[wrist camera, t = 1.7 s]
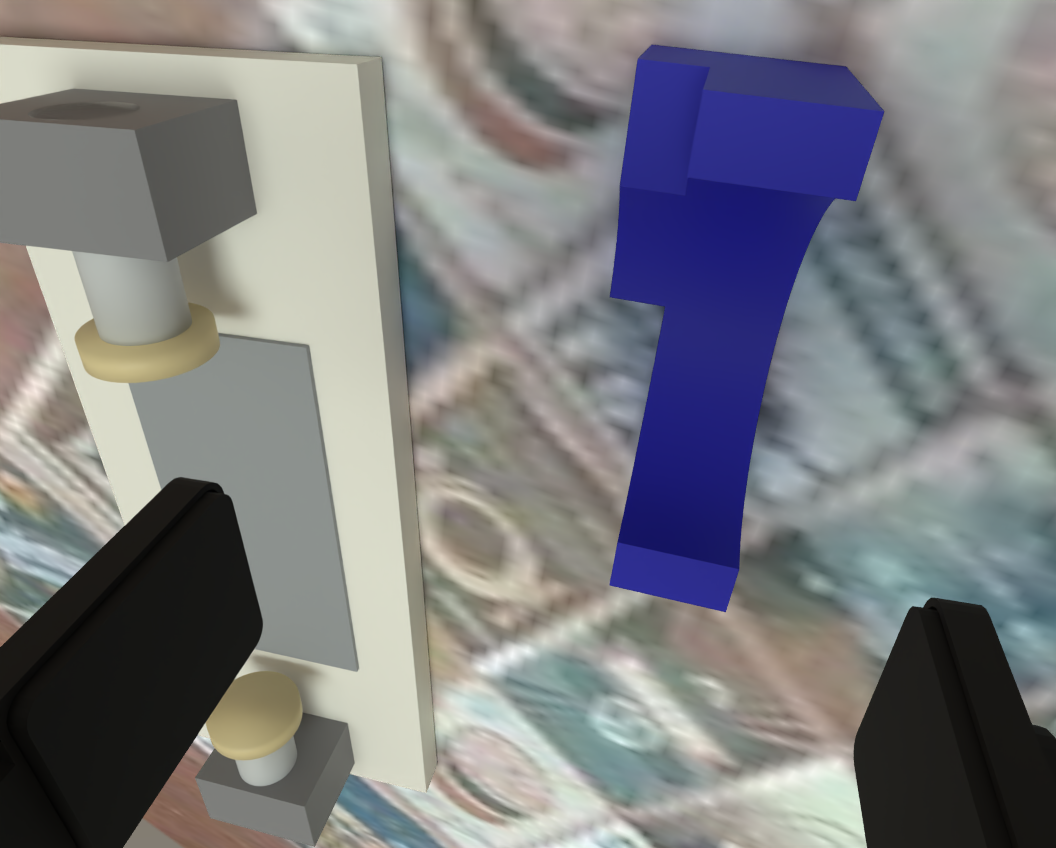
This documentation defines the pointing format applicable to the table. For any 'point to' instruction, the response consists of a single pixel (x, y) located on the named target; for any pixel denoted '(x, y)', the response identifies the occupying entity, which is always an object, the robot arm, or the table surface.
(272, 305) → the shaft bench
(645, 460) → the blue cradle bracket
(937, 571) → the table surface
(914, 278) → the table surface
